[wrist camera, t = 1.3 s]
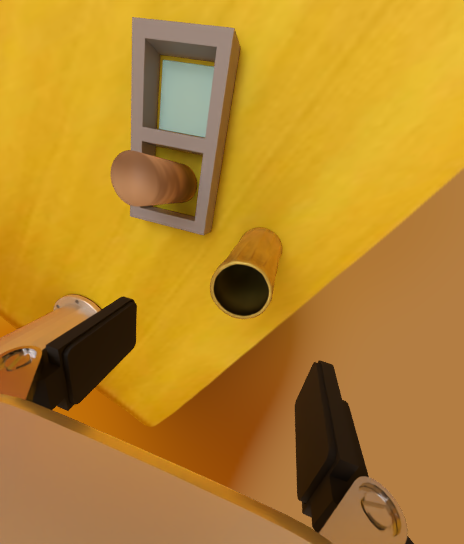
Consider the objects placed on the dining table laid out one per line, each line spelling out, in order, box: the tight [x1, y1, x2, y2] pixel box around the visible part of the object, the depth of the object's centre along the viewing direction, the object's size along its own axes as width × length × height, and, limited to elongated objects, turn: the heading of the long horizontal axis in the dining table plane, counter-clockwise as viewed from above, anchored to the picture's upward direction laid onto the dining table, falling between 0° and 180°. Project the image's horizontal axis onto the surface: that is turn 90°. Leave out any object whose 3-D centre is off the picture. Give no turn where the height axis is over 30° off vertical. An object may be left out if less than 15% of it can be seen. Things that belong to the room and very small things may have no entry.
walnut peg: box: [111, 150, 197, 207], centre depth 25 cm, size 5×5×10 cm
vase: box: [210, 228, 282, 319], centre depth 24 cm, size 6×6×14 cm
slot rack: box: [130, 17, 240, 235], centre depth 27 cm, size 20×11×3 cm, turn 168°
